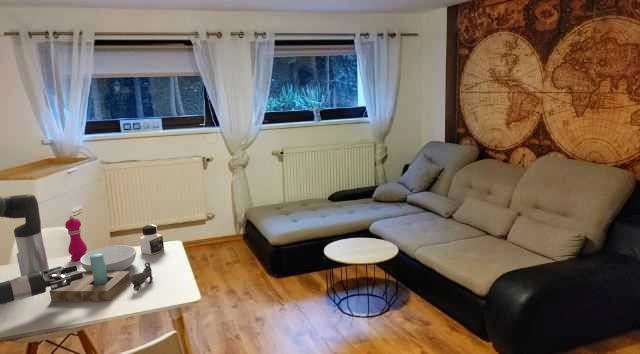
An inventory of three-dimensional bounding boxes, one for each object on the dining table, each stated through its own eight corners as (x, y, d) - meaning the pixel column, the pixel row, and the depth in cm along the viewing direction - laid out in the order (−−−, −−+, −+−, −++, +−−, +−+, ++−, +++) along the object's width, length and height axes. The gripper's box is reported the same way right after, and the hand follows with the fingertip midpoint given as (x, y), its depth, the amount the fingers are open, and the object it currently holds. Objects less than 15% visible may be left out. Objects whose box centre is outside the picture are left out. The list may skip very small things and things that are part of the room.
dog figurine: (144, 278, 185) (141, 260, 183) (157, 279, 183) (155, 261, 182) (125, 292, 173) (122, 274, 172) (139, 293, 172) (136, 274, 170)
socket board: (51, 301, 170) (49, 290, 169) (78, 280, 185) (76, 271, 184) (109, 301, 167) (107, 291, 166) (131, 280, 183) (129, 271, 182)
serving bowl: (125, 280, 184) (123, 264, 182) (72, 282, 184) (69, 266, 183) (145, 258, 204) (143, 243, 202) (98, 260, 205) (95, 245, 203)
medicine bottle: (151, 255, 207) (147, 229, 204) (141, 252, 210) (137, 227, 207) (164, 249, 212) (161, 224, 210) (154, 247, 216) (150, 222, 213)
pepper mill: (70, 263, 203) (61, 219, 198) (70, 257, 209) (61, 214, 204) (88, 259, 206) (81, 216, 201) (88, 254, 212) (80, 211, 207)
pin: (93, 293, 174) (87, 258, 171) (100, 287, 178) (94, 253, 175) (105, 293, 173) (98, 258, 170) (111, 287, 178) (105, 253, 174)
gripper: (28, 282, 154) (82, 267, 163) (22, 269, 165) (73, 255, 174) (33, 303, 155) (86, 287, 165) (26, 289, 166) (76, 274, 176)
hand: (79, 271), depth 170 cm, fingers open, 8 cm apart
